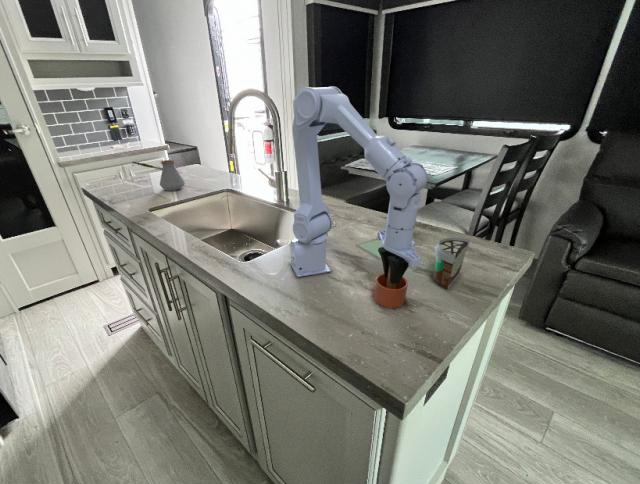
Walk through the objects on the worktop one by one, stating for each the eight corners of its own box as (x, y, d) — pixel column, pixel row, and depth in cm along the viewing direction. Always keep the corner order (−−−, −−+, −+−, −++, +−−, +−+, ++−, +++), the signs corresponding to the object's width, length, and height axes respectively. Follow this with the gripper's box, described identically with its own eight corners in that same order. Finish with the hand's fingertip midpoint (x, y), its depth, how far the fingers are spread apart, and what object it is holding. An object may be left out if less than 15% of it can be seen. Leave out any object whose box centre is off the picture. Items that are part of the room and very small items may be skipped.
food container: (438, 264, 91) (445, 232, 86) (460, 271, 87) (470, 238, 82) (421, 283, 82) (428, 248, 77) (445, 292, 79) (454, 256, 74)
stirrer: (388, 295, 75) (393, 262, 70) (383, 290, 77) (388, 257, 72) (396, 294, 75) (402, 260, 71) (392, 289, 77) (397, 256, 73)
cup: (382, 310, 73) (385, 292, 70) (368, 293, 79) (370, 275, 76) (410, 304, 75) (414, 287, 72) (394, 288, 81) (397, 271, 78)
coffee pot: (180, 184, 163) (174, 153, 156) (190, 188, 156) (183, 156, 148) (136, 192, 151) (127, 159, 144) (144, 198, 144) (135, 164, 136)
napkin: (380, 259, 94) (380, 258, 94) (358, 246, 101) (358, 245, 101) (404, 250, 98) (405, 249, 98) (382, 238, 106) (382, 238, 106)
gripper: (438, 236, 62) (425, 294, 69) (399, 211, 74) (391, 262, 81) (406, 241, 60) (396, 299, 67) (371, 214, 72) (366, 266, 79)
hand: (392, 279), depth 74 cm, fingers closed on stirrer, 2 cm apart
